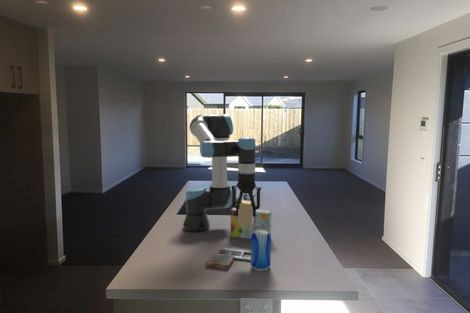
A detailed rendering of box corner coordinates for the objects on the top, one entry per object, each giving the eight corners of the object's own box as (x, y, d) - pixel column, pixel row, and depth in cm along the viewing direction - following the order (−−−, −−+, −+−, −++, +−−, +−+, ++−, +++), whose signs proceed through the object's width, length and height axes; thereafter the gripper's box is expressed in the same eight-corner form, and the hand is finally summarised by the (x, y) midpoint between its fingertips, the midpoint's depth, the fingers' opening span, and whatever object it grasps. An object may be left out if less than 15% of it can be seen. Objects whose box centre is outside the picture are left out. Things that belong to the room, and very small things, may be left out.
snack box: (271, 238, 187) (271, 210, 185) (268, 241, 181) (269, 213, 179) (233, 233, 193) (233, 206, 191) (229, 236, 188) (230, 209, 186)
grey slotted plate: (216, 257, 162) (216, 255, 162) (222, 249, 170) (222, 247, 170) (260, 262, 157) (260, 260, 157) (264, 254, 165) (264, 252, 165)
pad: (205, 266, 152) (205, 262, 152) (213, 257, 162) (213, 253, 161) (228, 269, 150) (228, 264, 149) (234, 259, 159) (234, 255, 159)
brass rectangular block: (239, 227, 158) (239, 203, 156) (241, 223, 163) (242, 200, 161) (250, 228, 157) (250, 204, 155) (252, 224, 161) (252, 201, 160)
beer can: (249, 263, 156) (250, 228, 154) (268, 262, 157) (269, 228, 154) (252, 272, 148) (252, 235, 145) (271, 271, 148) (272, 235, 146)
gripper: (224, 172, 155) (224, 223, 158) (265, 175, 150) (264, 227, 154) (228, 170, 162) (228, 218, 165) (267, 172, 158) (266, 222, 161)
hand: (245, 222), depth 159 cm, fingers closed on brass rectangular block, 5 cm apart
